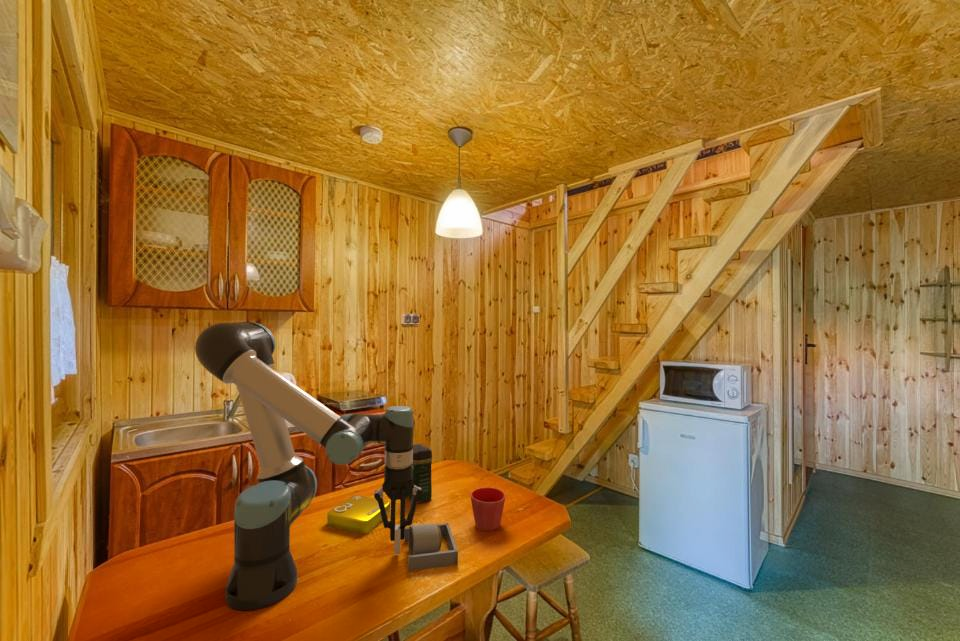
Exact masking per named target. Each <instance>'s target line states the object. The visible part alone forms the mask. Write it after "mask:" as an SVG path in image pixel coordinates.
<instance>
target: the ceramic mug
mask: <svg viewBox="0 0 960 641" xmlns="http://www.w3.org/2000/svg"><path fill="white" fill-rule="evenodd" d="M408 527H409V531H408V541H407V542H408V544H407V545H408V552H409V556H411V555H419V554H427V553H435V552H440V550H441V548H442V537H441V531H440V528H439V526H438V525H436V524H435V523H429V524H415V525H412V524H411V525H410V526H408Z"/></svg>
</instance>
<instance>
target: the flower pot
mask: <svg viewBox="0 0 960 641" xmlns="http://www.w3.org/2000/svg"><path fill="white" fill-rule="evenodd" d="M470 500H471V507H472V515H473V519H474V524H475V527H476V528H477V529H478V528H479V530H480V529H481V531H483V530H485V531H484V532H486V531H487V532H493V531H495V529H496V530H498V529H499V528H500V527H499V526H501V522H502V518H503V512H504V505H505V501H506V494H505V492H504V491H503V490H501V489H499V488H495V487H488V486H487V487H479V488H475V489H474V490H472V491H471V493H470ZM497 528H498V529H497ZM492 530H493V531H492Z"/></svg>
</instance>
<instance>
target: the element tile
mask: <svg viewBox="0 0 960 641" xmlns="http://www.w3.org/2000/svg"><path fill="white" fill-rule="evenodd" d="M383 501H384V506H385V510H386V514H387V518H388V517H389V516H390V514H391V501H388V500H385V499H383ZM381 523H383V521H382V517H381V513H380V508H379V504H378V502H377V500H376V499H375V497H369V496H363V495H359V494H355V495H352V496H350V497H349V498H347V499H346V500H344V501H342V502H341V503H339V504H338V505H336V506H335V507H333V508H331V509H329V510H328V511H327V514H326V526H327V527H328V528H329V529H330V528H331V529H336V530H340V531H345V532H349V533H353V534H357V535H366V534H369V533H370V532H371V531H372V530H374V529H375V528H376V527H377V526H378V524H379V525H381Z"/></svg>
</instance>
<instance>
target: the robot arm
mask: <svg viewBox="0 0 960 641" xmlns="http://www.w3.org/2000/svg"><path fill="white" fill-rule="evenodd" d="M194 349H195V355H196V358H197V360H198V362H199V363H200V364H201V366H202V367H204V369H205V370H206V371H207V372H209V373H210V374H211V375H212V376H214V377H215V378H217V379H218V380H220V381H221V382H223V383H224V384H225V385H227V384H234V385H235V386H236V388H237V389H236V390H237V392H238V395H239V398H240V400H241V405H242V409H243V411H244V415H245V418H246V422H247V425H248V428H249V430H250V431H249V432H250V435H251V438H252V442H253V446H254V448H255V452H256V455H257V457H258V460H259V461H258V462H259V465H260V470H259V473H257V476H256V478H257V481H258V482H257V483H256V484H255V485H253V484H252V485H250V486H249V487H247V488H246V489H244V490H243V491H242V492H240V494H239V495H238V496H237V498H236V499H235V504H234V510H233V521H234V523H233V526H234V528H233V530H234V531H233V532H234V535H233V537H234V538H233V542H234V548H233V549H234V551H233V552H234V558H233V559H234V560H233V564H232V568H231V571H230V574H229V576H228V579H227V582H226V586H225V591H224V594H225V595H224V599H225V600H224V601H225V603H226V605H227V606H228V607H229V608H231V609H234V610H239V611H254V610H258V609H259V610H260V609H262V608H266V607H269V606H271V605H273V604H276V603H277V602H279V601H281V600H283V599H284V598H286V597H287V596H288V595H290V593H292V592H293V590H294V589H295V587H296V586H297V582H298V568H297V565H296V563H295V560H294V556H293V555H292V553H291V549H290V547H291V546H290V544H291V542H290V541H291V540H290V539H291V538H290V537H291V534H290V533H291V525H292V524H293V523H294V522H295V521H296V520H297V519H298V518H299V516H300V515H301V514H302V513H303V511H304V510H306V509H307V508H308V507H309V506H310V505H311V502H312V501H313V499H314V498H315V496H316V493H317V488H318V479H317V477H316V476H317V475H316V474H315V472H314V471H313V470H312V469H311V468H309V467H308V466H307V465H306V464H305V461H304V458H303V457H300V456H298V455H296V452H295V448H294V446H293V442H292V439H291V434H290V432H289V429H288V425H287V423H286V422H288V423H289V424H291V425H292V426H294V427H295V428H297V429H298V430H299V431H301V432H303V433H304V434H305V435H306V436H309V437H310V438H311V439H312V440H313V441H316V442H317V443H318V444H320V445H321V446H322V447H324V448H325V454H326V457H327V458H328V460H329V461H330V462H331V463H333V464H335V465H339V466H341V465H343V466H345V465H348V464H350V463H351V462H353V461H354V460H355V459H357V458H358V457H359V456H360V455H361V454H362V452H363V450H364V449H365V448H366V446H367V445H368V444H384V465H385V466H384V469H383V471H384V473H383V475H384V476H383V480H384V481H383V483H382V485H381V488H379V489H378V490H377V489H376V490H374V492H373V496H374V497H373V498H375V499H376V500H377V502H378V504H379V508H380V513H381V517H382V525H383V527H384V529H389V538H390V542H393V544H394V545H393V550H394V555H400V554H401V541H403V540H404V541H405V528H407V527H410V526H412V524H413V520H414V515H415V512H416V507H417V504H418V502H417V501H418V498H419V497H420V495H421V494H422V490H421V487H417V486H415V485H414V482H413V480H412V475H413V465H412V463H413V445H414V426H415V423H414V411H413V408H411V407H410V406H406V405H397V406H394V405H393V406H389V407H387V408H386V409H385V413H382V414H364V413H362V414H361V413H360V414H359V413H350V414H349V413H348V414H347V413H346V414H343V415H342V416H340V415H338V413H335V412H334V411H333V410H332V409H330V408H329V407H327V406H325V405H324V404H323V403H322V402H320V401H319V400H318V399H316V398H315V397H314V396H312V395H311V394H309V393H307V392H306V391H305V390H303V389H302V388H301V387H299V386H298V385H296V384H295V383H293V382H292V381H290V379H287V377H285V376H283V375H282V374H281V373H279V372H278V371H276V370H275V369H273V368H274V367H275V365H276V363H275V361H274V358H273V354H274V353H275V350H276V339H275V336H274V335H273V332H271V330H270V329H269V328H268V327H266V326H265V325H263V324H261V323H257V322H253V321H240V322H237V321H236V322H218V323H215V324H211V325H209V326H208V327H206V328H204V329H203V330H202V331H201V332H200V333H199V335H198V337H197V338H196V341H195V346H194ZM412 489H413V496H412V500H410V504H409V508H408V513H407V516H406V499H407V498H408V497H407V496H408V495H409V494H410V492H411V491H412ZM384 494H385V495H386V496H387V498H388V499H389V500H390V515H389V516H390V518H389V519H390V520H389V519H388V517H387V514H386V510H385V506H384V501H383V500H384V499H383V498H384ZM397 501H399V503H400V504H399V524H396V510H397V509H396V505H397Z"/></svg>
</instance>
